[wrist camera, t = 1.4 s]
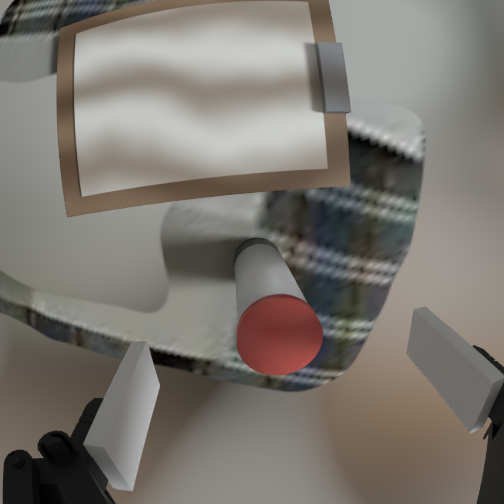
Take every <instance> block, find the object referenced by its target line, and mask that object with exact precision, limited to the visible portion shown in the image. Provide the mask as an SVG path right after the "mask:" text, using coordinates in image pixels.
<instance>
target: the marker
mask: <svg viewBox="0 0 504 504" xmlns="http://www.w3.org/2000/svg"><path fill="white" fill-rule="evenodd" d="M234 265H235V283H236V300H237V317H238V325H237V347H238V352H239V354H240V356H241V358H242V360H243V361H244V362H245V363H246V364H247V365H248V366H249V367H250V368H252V369H253V370H255V371H257V372H260V373H263V374H267V375H284V374H289V373H292V372H295V371H297V370H299V369H301V368H303V367H304V366H306V365H307V364H308V363H309V362H311V361H312V359H313V358H314V357H315V356H316V354H317V353H318V351H319V349H320V347H321V344H322V339H323V330H322V326H321V323H320V321H319V319H318V318H317V316H316V314H315V312H314V311H313V309H312V308H311V306H310V305H309V304H308V303H307V302H306V300H305V298H304V296H303V294H302V292H301V290H300V289H299V287H298V285H297V283H296V281H295V279H294V278H293V276H292V274H291V272H290V270H289V269H288V267H287V265H286V263H285V261H284V260H283V258H282V256H281V254H280V252H279V251H278V249H277V247H276V246H275V245H274V244H273V243H272V242H270V241H268V240H266V239H263V238H253V239H250V240H247V241H246V242H244V243H243V244H242V245H241V246H240V247H239V248H238V249H237V251H236V254H235V258H234Z"/></svg>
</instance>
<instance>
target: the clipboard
mask: <svg viewBox="0 0 504 504" xmlns="http://www.w3.org/2000/svg"><path fill="white" fill-rule="evenodd" d="M349 112H351V109H350V99H349V91H348V83H347V75H346V68H345V61H344V54H343V48H342V43H336V39H335V33H334V27H333V22H332V16H331V11H330V6H329V1H328V0H156V1H151V2H146V3H142V4H138V5H133V6H129V7H125V8H122V9H118V10H114V11H111V12H107V13H104V14H101V15H98V16H94V17H91V18H88V19H85V20H82V21H80V22H77V23H74V24H71V25H69V26H66V27H63V28H61V29H60V35H59V46H58V62H57V129H58V146H59V158H60V169H61V178H62V186H63V193H64V201H65V207H66V214H67V217H72V216H77V215H83V214H89V213H95V212H102V211H108V210H113V209H121V208H127V207H134V206H141V205H148V204H156V203H163V202H171V201H179V200H187V199H196V198H204V197H214V196H223V195H233V194H243V193H254V192H266V191H278V190H291V189H305V188H321V187H339V186H350V166H349V150H348V137H347V125H346V113H349Z"/></svg>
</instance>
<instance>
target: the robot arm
mask: <svg viewBox="0 0 504 504" xmlns="http://www.w3.org/2000/svg"><path fill="white" fill-rule="evenodd" d="M406 354H407V355H408V356H409V357H410V359H411V360H412V361H413V362H414V364H415V365H416V366H417V367H418V368H419V370H420V371H421V372H422V373H423V374H424V376H425V377H426V378H427V379H428V380H429V382H430V383H431V384H432V385H433V387H434V388H435V389H436V390H437V392H438V393H439V394H440V395H441V397H442V398H443V399H444V400H445V402H446V403H447V404H448V405H449V407H450V408H451V409H452V410H453V412H454V413H455V414H456V416H457V417H458V418H459V419H460V421H461V422H462V423H463V425H464V426H465V427H466V428H467V430H468V431H469V432H470V433H471V432H474V431H476V430H478V429H480V428H482V427H483V426H484V424H485V422H486V420H487V418H488V417H489V418H490V419H491V420H492V422H491V424H490V426H489V428H488V429H487V431H486V433H485V435H484V437H483V439H485V438H486V437H487V435H488V434H489V435H488V444H487V452H486V459H485V465H484V471H483V476H482V482H481V486H480V491H479V496H478V500H477V504H504V367H503V366H502V365H501V364H499V363H498V362H497V361H495V359H494V358H493V357H490V355H489V354H488V353H487V352H486V351H485V350H484V349H482V348H479V347H477V346H475V345H474V346H471V345H470V344H469V343H468V342H467V341H465V340H464V339H463V338H462V337H461V336H460V335H458V334H457V333H456V332H455V331H454V330H453V329H451V328H450V327H449V326H448V325H447V324H446V323H444V322H443V321H442V320H441V319H440V318H438V317H437V316H436V315H435V314H433V313H432V312H431V311H430V310H429V309H428V308H426V307H421V308H417V309H414V310H413V316H412V323H411V330H410V336H409V343H408V347H407V353H406ZM159 388H160V384H159V382H158V378H157V375H156V372H155V369H154V365H153V361H152V358H151V355H150V351H149V347H148V344H147V341H140V342H132V343H131V345H130V347H129V349H128V351H127V353H126V354H125V356H124V358H123V360H122V362H121V364H120V366H119V368H118V371H117V372H116V374H115V376H114V379H113V381H112V383H111V385H110V387H109V389H108V391H107V393H106V395H105V398H94V399H93V400H92V401H90V402H89V403H88V404H87V405H86V407H85V409H84V411H83V413H82V416H81V417H80V419H79V422H78V423H77V425H76V427H75V429H74V431H73V433H72V435H71V437H69V436H68V435H67V433H64V432H62V431H51V432H48V433H47V434H45V435H44V436H43V437H42V438H41V439H40V440H39V442H38V450H39V452H40V453H41V455H42V456H43V457H44V458H37V459H36V458H35V459H33V458H32V457H31V455H30V454H29V453H28V452H27V451H25V450H15V451H12V452H11V453H9V454H8V455H7V457H6V459H5V461H4V471H3V504H116V503H115V501H114V500H113V498H112V497H111V495H110V494H109V492H108V491H107V489H106V486H107V483H108V481H109V483H110V484H111V485H112V486H113V488H114V489H120V490H129V491H133V487H134V483H135V478H136V475H137V470H138V466H139V462H140V458H141V454H142V450H143V446H144V443H145V439H146V435H147V431H148V427H149V424H150V420H151V416H152V413H153V409H154V405H155V402H156V398H157V395H158V391H159Z"/></svg>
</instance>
